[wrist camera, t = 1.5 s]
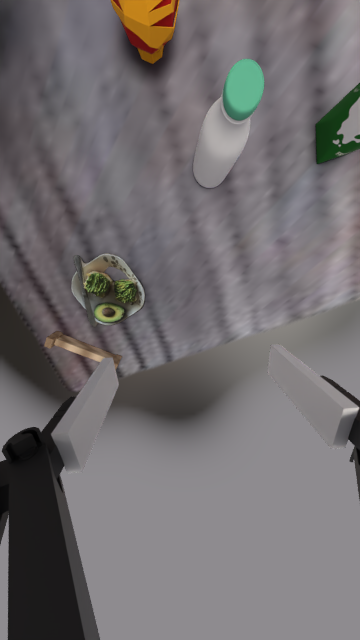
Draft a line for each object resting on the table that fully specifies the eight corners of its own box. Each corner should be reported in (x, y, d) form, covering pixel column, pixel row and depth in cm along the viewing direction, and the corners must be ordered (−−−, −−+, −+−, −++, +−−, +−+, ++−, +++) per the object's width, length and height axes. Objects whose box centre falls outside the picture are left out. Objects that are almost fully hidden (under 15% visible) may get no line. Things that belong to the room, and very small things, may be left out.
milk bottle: (215, 196, 41) (253, 143, 22) (186, 176, 39) (199, 101, 20) (233, 160, 39) (293, 67, 20) (203, 138, 37) (237, 14, 18)
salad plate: (53, 272, 45) (40, 274, 41) (110, 234, 43) (103, 231, 38) (101, 332, 51) (95, 339, 47) (153, 301, 49) (152, 305, 44)
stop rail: (54, 338, 51) (44, 346, 46) (57, 330, 50) (46, 337, 46) (118, 363, 54) (114, 372, 50) (122, 356, 53) (117, 364, 49)
